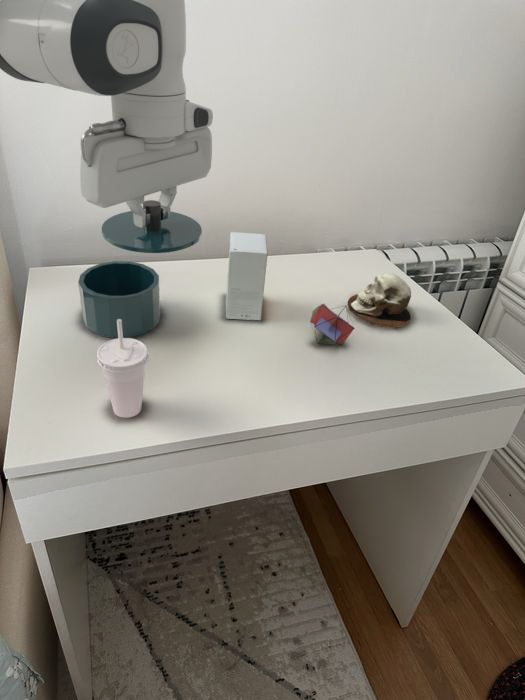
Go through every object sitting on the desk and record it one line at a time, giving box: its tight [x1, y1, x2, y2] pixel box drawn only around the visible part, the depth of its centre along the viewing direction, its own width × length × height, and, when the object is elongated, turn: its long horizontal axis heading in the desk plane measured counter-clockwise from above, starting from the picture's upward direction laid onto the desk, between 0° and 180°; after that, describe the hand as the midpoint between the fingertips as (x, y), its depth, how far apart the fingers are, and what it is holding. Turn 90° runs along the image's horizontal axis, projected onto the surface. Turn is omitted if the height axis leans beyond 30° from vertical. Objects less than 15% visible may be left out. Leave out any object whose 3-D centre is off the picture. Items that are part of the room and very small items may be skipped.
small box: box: [225, 231, 269, 321], centre depth 93 cm, size 8×6×13 cm
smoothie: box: [96, 319, 150, 419], centre depth 69 cm, size 6×6×14 cm
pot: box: [77, 260, 161, 339], centre depth 89 cm, size 13×13×8 cm
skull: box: [347, 272, 412, 329], centre depth 99 cm, size 12×10×10 cm
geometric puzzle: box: [309, 303, 356, 346], centre depth 89 cm, size 7×7×8 cm
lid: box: [101, 199, 203, 254], centre depth 73 cm, size 14×14×5 cm
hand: (152, 221), depth 73 cm, fingers closed on lid, 2 cm apart
